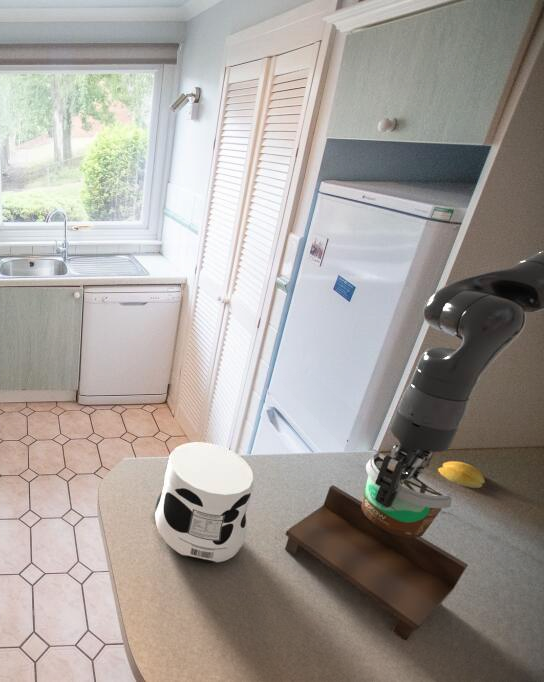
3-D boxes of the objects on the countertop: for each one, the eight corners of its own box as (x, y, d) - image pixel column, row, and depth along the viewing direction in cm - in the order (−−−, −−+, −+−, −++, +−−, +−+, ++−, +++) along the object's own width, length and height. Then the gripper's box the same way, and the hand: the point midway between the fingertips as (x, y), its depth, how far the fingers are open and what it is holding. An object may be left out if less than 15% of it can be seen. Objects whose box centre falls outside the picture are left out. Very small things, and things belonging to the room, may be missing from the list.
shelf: (445, 604, 80) (468, 564, 76) (408, 645, 73) (430, 605, 69) (319, 520, 97) (332, 484, 93) (280, 548, 90) (292, 511, 86)
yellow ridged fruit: (430, 478, 109) (436, 465, 107) (444, 465, 113) (450, 452, 112) (474, 499, 103) (481, 486, 101) (487, 484, 107) (494, 471, 105)
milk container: (199, 495, 104) (213, 430, 96) (260, 554, 89) (282, 483, 82) (136, 517, 98) (145, 450, 90) (190, 584, 83) (206, 511, 76)
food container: (336, 501, 84) (352, 458, 79) (359, 492, 86) (376, 450, 81) (407, 553, 73) (430, 507, 69) (432, 542, 75) (455, 496, 71)
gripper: (421, 390, 76) (388, 468, 83) (378, 415, 70) (347, 497, 77) (478, 412, 71) (438, 494, 77) (437, 441, 64) (397, 528, 71)
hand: (392, 495), depth 77 cm, fingers closed on food container, 6 cm apart
